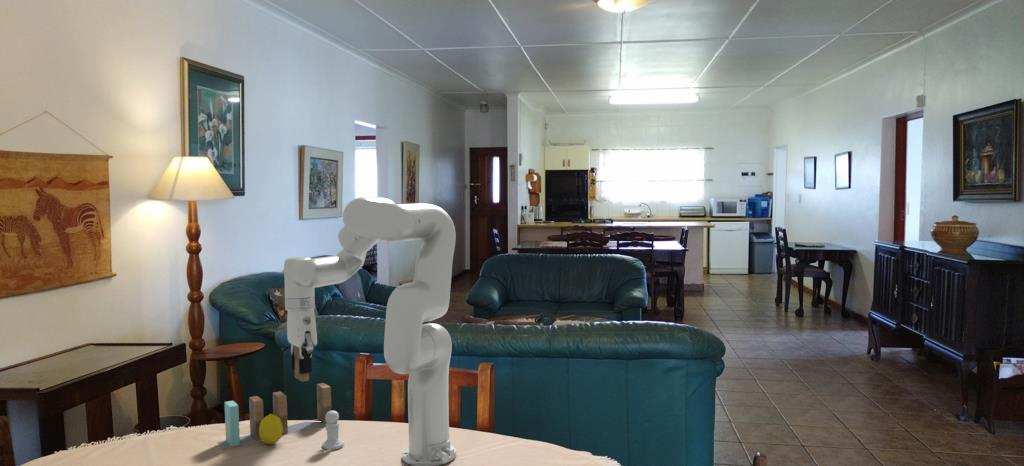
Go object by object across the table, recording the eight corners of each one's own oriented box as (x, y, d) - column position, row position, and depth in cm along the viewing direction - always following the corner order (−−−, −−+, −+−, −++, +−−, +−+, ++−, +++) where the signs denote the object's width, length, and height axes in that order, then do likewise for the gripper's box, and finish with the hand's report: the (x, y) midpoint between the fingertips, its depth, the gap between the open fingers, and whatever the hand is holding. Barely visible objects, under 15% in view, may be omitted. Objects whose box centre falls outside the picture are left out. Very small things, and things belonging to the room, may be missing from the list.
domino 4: (331, 422, 175) (330, 386, 175) (324, 424, 174) (323, 388, 173) (324, 418, 179) (323, 382, 178) (317, 419, 178) (316, 384, 177)
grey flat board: (333, 424, 175) (333, 423, 175) (223, 450, 157) (223, 449, 157) (324, 418, 180) (324, 417, 180) (217, 443, 162) (216, 442, 162)
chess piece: (320, 451, 156) (319, 414, 156) (324, 442, 162) (323, 407, 161) (342, 450, 157) (341, 413, 156) (346, 441, 162) (345, 406, 162)
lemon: (275, 450, 157) (274, 418, 157) (254, 448, 158) (253, 416, 158) (287, 441, 163) (286, 410, 162) (267, 440, 164) (266, 409, 163)
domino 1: (264, 438, 164) (263, 400, 163) (256, 440, 163) (254, 402, 162) (258, 433, 168) (257, 395, 167) (250, 435, 167) (249, 397, 166)
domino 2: (287, 433, 168) (286, 395, 167) (280, 435, 166) (278, 397, 166) (281, 428, 172) (280, 391, 171) (273, 429, 170) (272, 392, 170)
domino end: (239, 444, 160) (238, 405, 160) (231, 446, 159) (229, 406, 158) (234, 438, 164) (232, 400, 164) (225, 440, 163) (224, 402, 162)
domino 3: (309, 380, 171) (308, 343, 170) (301, 381, 169) (300, 344, 169) (302, 376, 175) (301, 339, 174) (294, 377, 173) (294, 341, 173)
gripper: (326, 306, 166) (327, 375, 167) (302, 298, 180) (303, 362, 181) (297, 309, 162) (299, 380, 163) (275, 300, 175) (276, 366, 176)
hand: (301, 369), depth 172 cm, fingers closed on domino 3, 4 cm apart
